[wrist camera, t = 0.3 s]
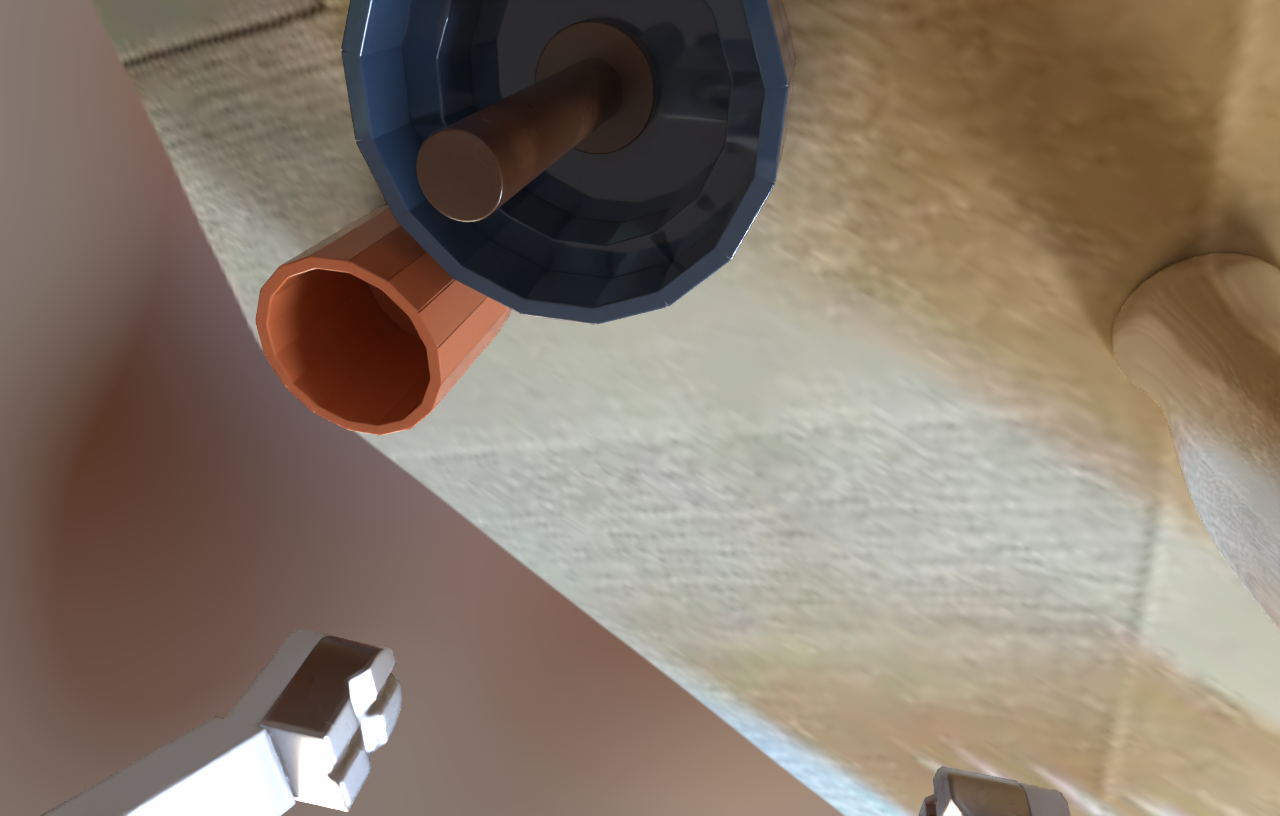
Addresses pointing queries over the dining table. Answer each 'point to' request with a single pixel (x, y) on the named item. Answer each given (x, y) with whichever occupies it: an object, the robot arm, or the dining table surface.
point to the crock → (372, 327)
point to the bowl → (578, 182)
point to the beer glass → (1217, 398)
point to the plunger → (544, 120)
